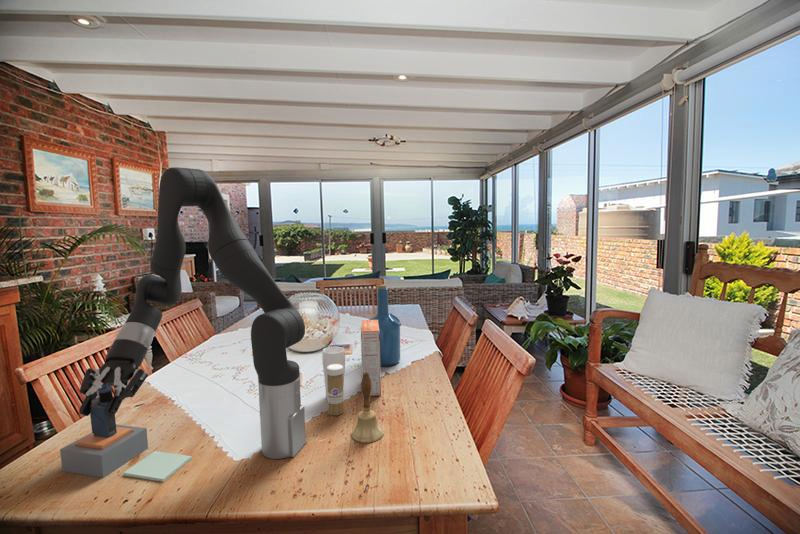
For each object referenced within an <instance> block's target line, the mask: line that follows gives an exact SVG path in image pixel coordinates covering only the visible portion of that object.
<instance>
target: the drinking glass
mask: <svg viewBox="0 0 800 534" xmlns="http://www.w3.org/2000/svg"><path fill="white" fill-rule="evenodd" d="M321 354H322V355H321V356H322V371H323V377H324V386H325V397H326V399H328V376H327V367H328V366H329V365H332V364H340V365H342V366H343V396H344V391H345V389H344V388H345V387H344V386H345V371H346V370H345V369H346V351H345V348H344V347H343V346H342V347H341V346H328V347H325V348H323V349H322V353H321Z"/></svg>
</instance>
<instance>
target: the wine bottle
mask: <svg viewBox="0 0 800 534" xmlns="http://www.w3.org/2000/svg"><path fill="white" fill-rule="evenodd" d="M376 295H377V296H376V298H377V306H376V307H377V308H376V310H377V311H376V315H374V316H372V317H370V318H369V319H368V320H378V325H379V332H380V367H389V366H393V365H396V364H397V363H399V362H400V360H401V327H402V322H401V321H400V319H399V318H398V317H397V316H395V315H394V314H392V313H389V291H388V288H387V285H386V284H379V287H377V294H376Z"/></svg>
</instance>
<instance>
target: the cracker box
mask: <svg viewBox="0 0 800 534" xmlns="http://www.w3.org/2000/svg"><path fill="white" fill-rule="evenodd" d="M360 324H361V325H360V326H361V329H360V351H361V355H360V356H361V376H362V377H363V373H364V372H368V373H369V377H370V380H371V393H370V397H379V396H382V379H381V366H380V332H379V325H378V320H369V319H364V320H361V323H360ZM362 377H361V378H362Z"/></svg>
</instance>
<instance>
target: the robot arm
mask: <svg viewBox="0 0 800 534" xmlns="http://www.w3.org/2000/svg"><path fill="white" fill-rule="evenodd" d="M157 205H158V206H157V225H156V227H157V229H156V230H157V231H156V232H157V233H156V240H155V244H154V249H153V252H152V256H151V260H150V265H149V266H150V270H151V272H152V273H153V274H146V275H143V276H142V277H141V278H140V279H139V280H138V283H137V284H136V290H135V297H134V302H133V305H132V309H131V310H130V313H129V314H128V316H127V318H126V320H125V322H124V324H123V325H122V327H121V329H120V330H119V331H118V333H117V335H116V337H115V339H114V340H113V342H112V344H111V346H110V348H109V349H108V351H107V354H106V355H105V362H104V363H103V364H102V365H101V366H100V367H99V368H96V369H93V368H90V367H89V368H87V369H86V371H85V373H84V377H83V379H82V383H81V386H80V388H79V393H80V394H82V395H84V396H85V397H84V399H83V401H82V403H81V405H80V407H79V409H78V412H79V415H81V416H82V417H88V416H90V410H91V407H90V405H91V401H92V400H93V399H96V398H99V391H98V390H99V389H100V388H102V384H106V383H107V384H108V386H111V387H114V392H113V397H112V398H111V400H110V402H109V404H108V406H107V408H106V410H105V412H104V414H105V415H107V416H114V414H116V413H117V412H118V410H119V409H120V406H121V405H122V402H123V401H124V400H125V399H127V398H133V397H135V395H136V394H137V393H138V390H139V389H140V388H141V387H142V385H143V383H144V382H145V381H146V379H148V376H149V373H148V372H146V371H145V370H144V369H142V368H140V367H141V365H142V364H143V362H144V360H145V357H146V355H147V352H148V351H149V350H150V349H149V348H150V346H151V345H152V342H153V339H154V336H155V334H156V332H157V329H158V327H159V326H160V323H161V321H162V319H163V312H162V310H160V309H159V308H158V307H156V306H154V305H152V304H150V302H151V303H154V304H158V305H163V306H168V307H169V306H173V305H176V303H178V302H179V301H180V299H181V297H182V280H181V278H182V277H181V270H182V266H183V262H184V258H185V255H186V251H187V248H186V246H187V245H186V241H185V238H184V236H183V233H182V231H181V228H180V225H179V220H178V219H179V215H180V212H181V209H182V207H198V208H199V209H200V211H202V213H203V214H204V216H205V218H206V220H207V221H208V225H209V232H208V233H209V234H208V243H207V244H208V245H207V247H208V253H209V256H210V258H211V259H212V261H213V263H214V264H215V265H216V267H217V269H218V271H219V272H220V274H221V275H222V277H223V278H224V279H225V280H226V281H228V282H229V283H230V284H231V285H233V286H234V287H236V288H238V289H239V290H240V291H242V292H243V293H244V294H247V295H248V296H249V297H250V298H251V299H253V301H255V302H256V303H257V304H258V306H259V307H260V309H261V310H262V311H263V312H264V313H261V314H259V315H257V316H256V317H255V318H254V319H253V321H252V323H251V328H250V342H251V352H252V360H253V368H254V369H255V372H256V374H257V375H256V376H257V381H258V382H257V383H258V402H259V403H258V405H259V419H260V420H259V423H260V425H259V426H260V439H261V440H260V445H261V452H262V453H261V454H262V455H263V456H264V457H266V458H268V459H273V460H279V459H281V460H282V459H284V458H285V459H286V458H294V457H296V455H297V454H298V452H300V450H301V449H302V448H303V446H305V444H306V441H307V440H306V416H305V415H306V414H305V410H306V409H305V406H304V405H302V403H301V378H300V375H301V374H300V373H301V372H300V366H299V364H298V363H297V362H296V361H294V360H288V355H287V348H289V347H292V346H294V345H295V344H298V343H299V342H301V341H302V340H303V338H304V336H305V332H306V325H305V321H304V320H303V317H302V314H300V312H299V311H298V309H297V308H296V307H295V305H294V304H293V302H291V300H290V299H289V297H287V296H286V294H285V293H284V292H283V291H282V289H281V288H280V286H279V285H278V284H277V283H276V281H275V280H274V278H273V277H272V275H271V274H270V272H269V270H268V269H267V268H266V266H265V264H264V263H263V262H262V260H261V259H260V256H259V255H258V253H257V252H256V250H255V248H254V247H253V245H252V243H251V242H250V240H249V239H248V237H247V236H246V235H245V233H244V232H243V230H242V229H241V228H240V226H239V224H238V222H237V220H236V219H235V216H233V214H232V212H231V211H230V209H229V207H228V205H227V203H226V200H225V199H224V197H223V195H222V192H221V191H220V189H219V187H218V184H217V183H216V181H215V180H214V178H213V177H212V176H211V174H210V173H208V172H207V171H206V170H203V169H200V168H199V169H198V168H189V167H168V168H166V169H165V170H164V172H163V173H162V175H161V177H160V182H159V188H158V203H157ZM154 274H155V275H154ZM148 302H149V303H148ZM139 368H140V369H139Z"/></svg>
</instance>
